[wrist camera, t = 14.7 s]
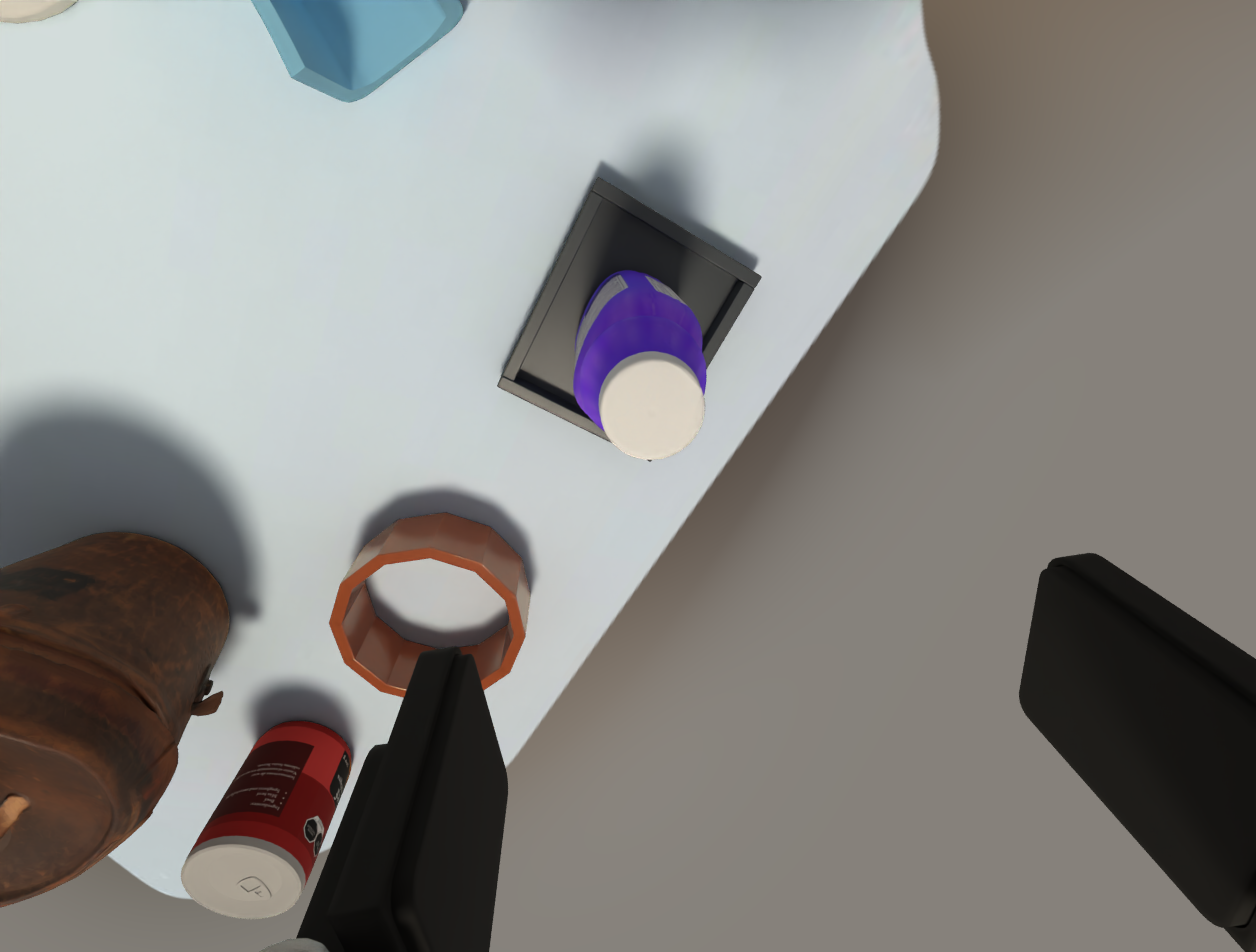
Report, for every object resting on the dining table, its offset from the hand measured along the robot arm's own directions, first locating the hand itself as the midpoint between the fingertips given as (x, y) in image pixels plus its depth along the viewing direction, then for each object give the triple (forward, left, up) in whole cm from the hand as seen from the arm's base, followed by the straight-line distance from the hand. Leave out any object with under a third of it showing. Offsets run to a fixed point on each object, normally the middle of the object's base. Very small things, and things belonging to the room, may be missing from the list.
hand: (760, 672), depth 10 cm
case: (-38, -16, -32) cm, 52 cm away
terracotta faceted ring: (-16, -17, -32) cm, 40 cm away
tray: (0, 0, -32) cm, 32 cm away
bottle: (0, 0, -32) cm, 32 cm away
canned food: (-31, -31, -32) cm, 55 cm away
